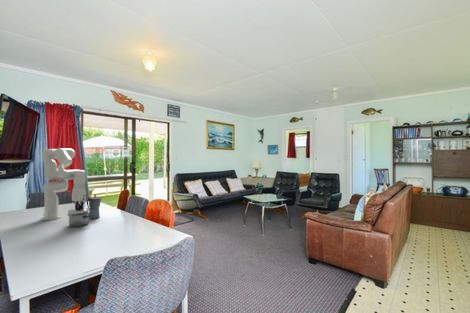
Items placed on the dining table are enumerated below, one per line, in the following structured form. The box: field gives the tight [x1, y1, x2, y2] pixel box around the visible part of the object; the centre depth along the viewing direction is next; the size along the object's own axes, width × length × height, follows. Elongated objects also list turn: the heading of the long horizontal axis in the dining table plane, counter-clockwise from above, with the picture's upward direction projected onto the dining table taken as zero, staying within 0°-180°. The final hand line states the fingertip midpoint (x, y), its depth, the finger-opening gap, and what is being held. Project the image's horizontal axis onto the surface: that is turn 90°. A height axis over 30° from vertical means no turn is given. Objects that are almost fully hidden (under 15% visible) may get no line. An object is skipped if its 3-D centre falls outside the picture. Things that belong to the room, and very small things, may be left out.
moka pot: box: [85, 194, 102, 220], centre depth 200 cm, size 10×15×20 cm, turn 174°
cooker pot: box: [67, 211, 91, 229], centre depth 179 cm, size 21×13×9 cm, turn 72°
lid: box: [67, 203, 90, 214], centre depth 179 cm, size 14×14×6 cm
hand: (79, 209), depth 179 cm, fingers closed on lid, 3 cm apart
